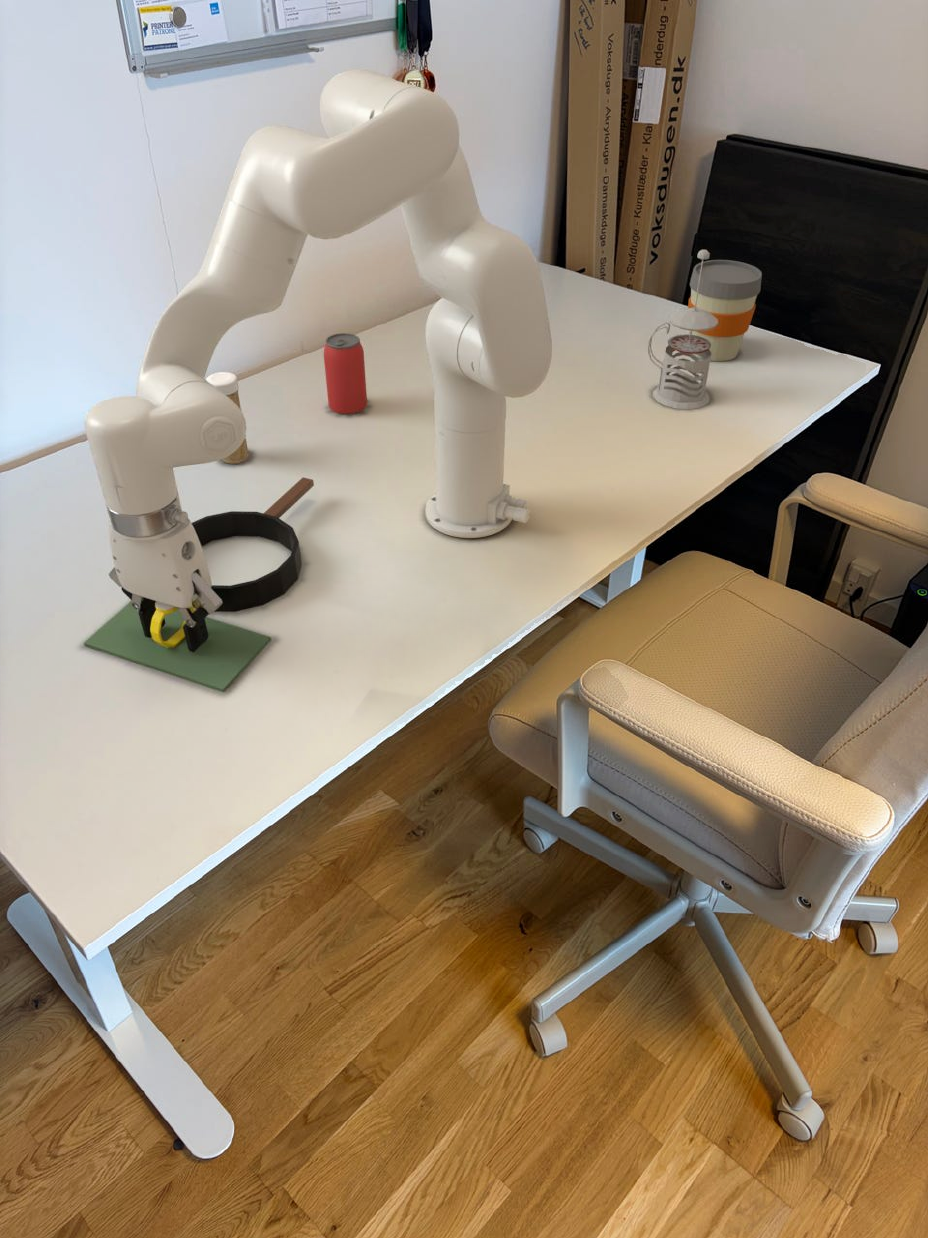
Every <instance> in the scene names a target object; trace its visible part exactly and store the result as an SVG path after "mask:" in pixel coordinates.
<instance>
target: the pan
mask: <svg viewBox="0 0 928 1238" xmlns="http://www.w3.org/2000/svg"><path fill="white" fill-rule="evenodd" d="M314 481H315V480H314V479H313V478H307V477H301V478H300V479H299V480H297V482H295V484H293V485H292V486H291V487H290V488H289V489H288V490H287V491H286V492H285V493H284V494H283V495H282V496H281V497H279V499H277V500H276V501H275V502H274V503H273V504H271V506H269V507H268V508H267V509H266V510H265V511H264V512H260V511H240V510H239V511H238V510H237V511H235V510H233V511H232V510H231V511H226V512H222V513H216V514H212V515H206V516H204V517H202V518H199V519H197V520H194V521H192V522H191V524H192V525H193V527H194V529H195V532H196V534H197V536H198V538H199V541H200V544H201V546H202V547H204V546H205V545H207V544H210V543H212V542H215V541H220V540H224V539H231V538H234V537H254V538H256V537H257V538H258V537H259V538H262V539H266V540H270V541H273V542H276V543H279V544H280V545H282V547H284V548H285V549H287V550H288V551H290V555H289V557H288V558H287V559H286V560H285V561H283V563H282V564H280V566H279V567H277V568H276V569H275V570H272V571H271V572H268V573H267V574H265V575H263V576H260V577H258V578H256V579H253V580H250V581H244V582H239V583H236V584H230V585H226V584H225V585H219V584H218V585H216V584H215V585H214V584H213V585H212V587H211V589H212V590H213V591H214V592H215V593H216V594H217V595H218V596H219V597H220V599H221V600H222V602H223V604H222V605H221V606H220V607H219V608H218V609H217V610H215V611H214V612H213V613H237V612H240V611H241V612H242V611H245V610H249V609H254V608H258V607H262V606H264V605H267V604H268V603H270V602H272V601H274V600H276V599H278V598H280V597H282V596H283V595H285V594H286V593H287V592H288V591H289V590H290V589H291V587H293V586H294V585H295V583H296V582H298V580H299V576H300V572H301V569H302V566H303V563H302V562H303V561H302V555H301V547H300V541H299V538H298V536H297V534H296V531H295V529H294V527H293V526H291V525H289V524H288V523H287V522H286V521H284V520H282V519H281V517H283V515H284V514H286V513H287V512H288V511H289V510H290V509H291V508H292V507H293V506H294V505H295V504H296V503H298V502H299V500H300V499H302V497H303V496H305V494H307V493H308V492H309V491H310V490H311V489H312V488H313V487H314V486H315V483H314ZM192 605H193V603H192ZM193 608H194V609H196V608H195V607H194V605H193Z"/></svg>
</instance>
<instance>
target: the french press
mask: <svg viewBox="0 0 928 1238" xmlns="http://www.w3.org/2000/svg"><path fill="white" fill-rule="evenodd" d="M710 255H711V253H710V252H709V251H708V250H707V249H701V250H699V251H698V253H697V258H698V259H700V260H701V262H702V263H701V262H700V263H701V270H700V276H699V282H698V289H697V295H696V301H695V308H688V307H687V308H680V309H677V310H675V311H673V312H672V313H670V314H669V315H668V321H669V322H667V321H666V322H664V323H661V324H659V325H658V326H657V327H655V328H654V329H653V331H652V333H651V335H650V338H649V340H648V343H647V345H648V346H647V354H648V358H649V360H650V361H651V362H652V363H653V365H655V366H656V367H658V368H659V369H660V373H659V374H660V375H659V382H658V386H657V387H656V388H655V389H654V390H653V391H652V397H653V399H654V400H655V401H656V402H657V403H659V404H661V405H663V406H665V407H668V408H673V409H677V410H693V409H694V410H695V409H699V408H702V407H704V406H707V404H708V403H709V402H710V395H709V394H708V392H707V391H706V387H707V382H708V375H709V371H710V366H711V365H710V364H711V361H710V359H711V351H710V350H709V348H710V347H711V343H710V342H709V341H708V340H707V339H705V338H702V337H699V336H697V335H696V336H695V335H693V334H692V331H708V330H710V329H713V328H714V327H715V326H716V325H717V324H718V319H717V318H716V317H714V316H713V315H712V314H711V313H710V312H708V311H705V310H703V309H698V308H696V303H697V297H698V291H699V284H700V278H701V272H702V266H703V262H704V260H709V259H710ZM666 325H667V326H666ZM671 326H674V327H675V328H677V329H680V330H685V331H689V334H685V333H684V334H676V335H673V336H671V337H669V339H668V340H667V344H668V345H666V347H665V351H664V357H663V362H662V361H660V360H659V359H658V358H656V356H655V355H654V352H653V350H652V342H653V341H652V339H653V337H654V336H655V334H656V333H657V332H659V331H660V330H662V329H666V334H667V335H668V334H669V332H670V328H671ZM690 331H691V333H690ZM674 352H676V353H674ZM693 354H697V355H699V356H700V357H701V358H703V359H701V358H698V357H696V356H694V355H693ZM681 356H684V357H685V356H686V357H689V358H691V359H692V360H693V361H692V360H690V359H687V358H683V357H682V358H676V357H681ZM653 359H654V360H655V361H656V362H655V361H654V360H653ZM700 359H701V360H700ZM657 362H658V363H660V364H661V366H660V365H658V364H657ZM672 366H674V367H672ZM683 370H684V371H683ZM685 371H688V372H689V373H690V374H688V373H687V372H685ZM671 373H672V374H671ZM691 374H692V375H691ZM699 374H700V375H699Z"/></svg>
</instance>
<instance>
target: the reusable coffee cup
mask: <svg viewBox="0 0 928 1238" xmlns="http://www.w3.org/2000/svg"><path fill="white" fill-rule="evenodd" d="M701 263H702V261H701V262H698V263H697V264H695V266H694V267H693V269H692V273H691V277H690V282H689V287H690V297H688V305H687V306H688V307H687V308H695V301H696V295H697V289H698V282H699V276H700V270H701ZM762 275H763V273H762V271H761V270H760V269H759V268H758V267H756V266H754V265H753V264H749V263H746V262H741V261H737V260H730V259H712V260H706V261H703V266H702V272H701V278H700V284H699V291H698V297H697V303H696V308H698V309H703V310H705V311H708V312H710V313H711V314H712V315H713V316H714V317H716V318H717V319H718V324H717V325H716V326H715V327H714V328H713V329H710V330H708V331H692V334H693V335H695V336H696V335H697V336H699V337H702V338H705V339H707V340H708V341H709V342H710V343H711V347H710V348H709V350H710V351H711V359H710V362H725V361H730V360H733V359H735V358H737V356H738V354H739V351H740V348H741V345H742V342H743V339H744V335H745V333H747V332H748V330H749V328H750V325H751V323H752V319H753V316H754V313H755V310H756V299H757V297H758V295H759V294H760V292H761V290H762V289H761V286H762V278H763V277H762ZM690 333H691V331H689V334H690ZM692 355H694V356H695V357H696V358H698V359H701V360H704V359H703V358H701V357H700V356H699V355H697V354H692Z"/></svg>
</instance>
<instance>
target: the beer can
mask: <svg viewBox="0 0 928 1238" xmlns="http://www.w3.org/2000/svg"><path fill="white" fill-rule="evenodd" d="M364 351H365V350H364V348H363V345H362V343H361V339H360V337H359V336H358V335H356V334H353V333H349V332H348V333H347V332H341V333H335V334H334V333H333V334H332V335H329V336H328V337H326V339H325V345H324V348H323V363H324V372H325V373H324V375H325V383H326V393H327V395H326V396H327V404H328V407H329V409H330V410H331V411H332V412H334V413H335V414H339V415H344V416H347V415H349V416H350V415H354V414H358V413H361V412H362V411H364V410H365V409H366V407H367V406H368V395H367V380H366V379H367V378H366V366H365V365H366V364H365V353H364Z"/></svg>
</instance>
